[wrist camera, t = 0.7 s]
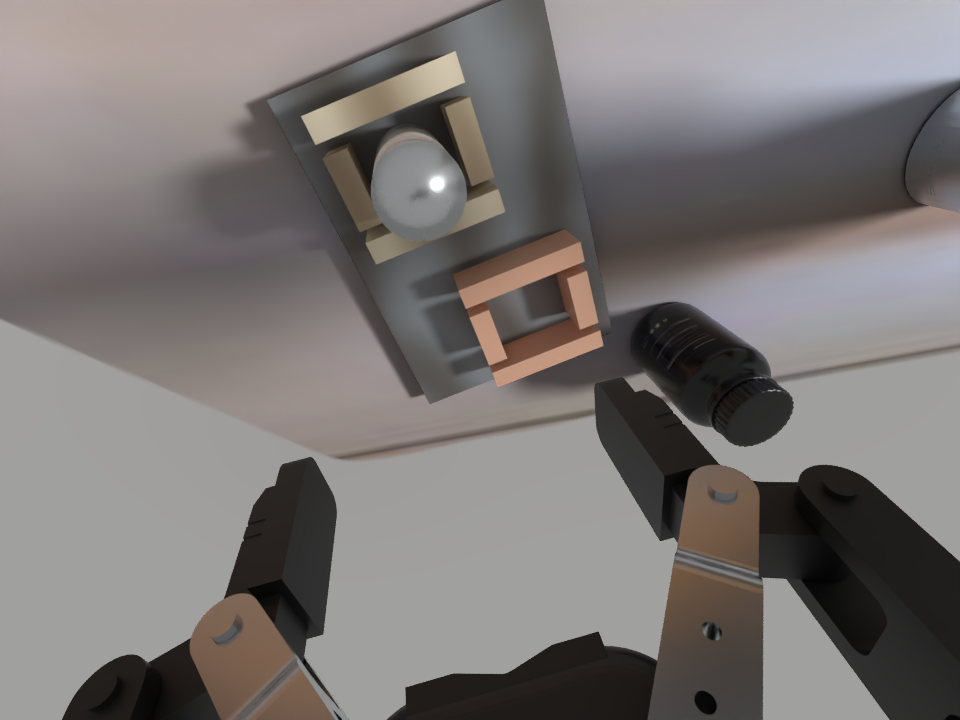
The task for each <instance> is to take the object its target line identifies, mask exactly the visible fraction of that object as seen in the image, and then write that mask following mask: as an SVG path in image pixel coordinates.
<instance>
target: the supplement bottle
mask: <svg viewBox="0 0 960 720" xmlns="http://www.w3.org/2000/svg"><path fill="white" fill-rule="evenodd" d="M631 350H632V355H633V358H634V360H635V361H636V363H637V364H638V365H639V367H640V368H641V369H642V370H643V371H644V372H645V373H646V375H647V376H648V377H649V378H650V379H651V380H652V381H653V382H654V383H655V384H656V385H657V387H658V388H659V389H660V390H661V391H662V392H663V393H664V394H665V395H666V396H667V398H668V399H669V400H670V401H671V402H672V403H673V404H674V405H675V406H676V407H677V409H678V410H679V411H680V412H681V413H682V414H683V415H684V416H685V417H686V418H688V420H690V421H691V422H693V423H695V424H698V425H701V426H705V427H713V428H714V429H715V430H716V431H717V432H719V433H720V434H722V435H723V436H724V437H725V438H726V439H727V440H728V441H729V442H730V443H732V444H734V445H738V446H744V447H746V446H753V445H756V444H759V443H761V442H764V441H766V440H767V439H770V438H771V437H772V436H774V435H776V434H777V433H778V432H779V431H780V430H781V429H782V428H783V426H784V425H786V423H787V421H788V420H789V419H790V416H791V414H792V410H793V401H792V397H791V396H790V394H789V393H788V392H787V391H786V390H784V389H783V388H782V387H780V386H779V385H778V384H777V383H776V382H775V381H774V380H773V379H772V378H771V371H770V367H769V364H768V362H767V360H766V358H765V357H764V356H763V355H762V354H761V353H760V352H759V351H758V350H756V349H755V348H754V347H752V346H751V345H749V344H748V343H746V342H745V341H744V340H742V339H741V338H739V337H738V336H736V335H735V334H734V333H732V332H731V331H729V330H728V329H726V328H725V327H724V326H722V325H721V324H719V323H718V322H716V321H715V320H714V319H712V318H711V317H709V316H708V315H706V314H705V313H703V312H702V311H700V310H699V309H697V308H696V307H694V306H692V305H689V304H685V303H671V304H667V305H664V306H661V307H659V308H657V309H655V310H654V311H652V312H651V313H649V314H648V315H647V316H646V317H645V318H644V319H643V320H642V321H641V322H640V324H639V325H638V327H637V328H636V330H635V333H634V335H633V338H632V344H631Z"/></svg>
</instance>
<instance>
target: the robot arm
mask: <svg viewBox="0 0 960 720" xmlns="http://www.w3.org/2000/svg"><path fill="white" fill-rule="evenodd" d="M905 181H906V188H907V190H908V192H909V194H910V196H911V197H912V198H913V199H914V200H915V201H916V202H919V203H921V204H924V205H928V206H933V207H937V208H941V209H946V210H950V211H955V212H959V213H960V89H958V90H957V91H956V92H955V93H953V94H952V95H951V96H950V97H949V98H947V99H946V100H945V101H944V102H943V103H942V105H941V106H940V107H939V108H938V109H937V110H936V111H935V112H934V113H933V115H932V116H931V117H930V118H929V120H928V121H927V122H926V124H925V125H924V127H923V128H922V130H921V132H920V133H919V135H918V137H917V138H916V140H915V142H914V145H913V147H912V149H911V152H910V154H909V158H908V161H907V165H906V173H905ZM594 393H595V412H596V427H597V431H598V435H599V438H600V441H601V443H602V445H603V447H604V448H605V450H606V452H607V453H608V455H609V457H610V458H611V460H612V462H613V463H614V465H615V467H616V468H617V470H618V472H619V473H620V475H621V477H622V478H623V480H624V482H625V483H626V485H627V487H628V488H629V490H630V492H631V493H632V495H633V497H634V498H635V500H636V502H637V503H638V505H639V507H640V508H641V510H642V512H643V513H644V515H645V517H646V518H647V520H648V522H649V523H650V525H651V527H652V528H653V530H654V532H655V533H656V535H657V537H658V538H659V540H660V541H663V540H666V539H670V538H673V537H674V538H675V539H676V541H677V542H678V546H677V551H676V553H675V557H674V563H673V569H672V575H671V582H670V587H669V593H668V600H667V605H666V611H665V618H664V623H663V629H662V635H661V641H660V647H659V653H658V660H655V659H653V658H651V657H649V656H647V655H645V654H642V653H640V652H637V651H633V650H630V649H627V648H621V647H614V646H604V644H603V642H602V639H601V637H600V634H599V632H595V633H592V634H589V635H585V636H581V637H578V638H575V639H571V640H568V641H564V642H561V643H557V644H554V645H551V646H550V647H548V648H547V649H545V650H543V651H542V652H540V653H539V654H537V655H536V656H534V657H532V658H531V659H529V660H528V661H526V662H525V663H523V664H521V665H520V666H518V667H517V668H515V669H514V670H512V671H510V672H508V673H506V674H451V675H447V676H444V677H440V678H437V679H433V680H430V681H426V682H423V683H419V684H416V685H413V686H409V687H406V705H405V706H403V707H401V708H400V709H399V710H397V711H396V712H395V713H394V714H393V715H392V716H390V717H389V718H388V719H387V720H763V580H762V578H761V577H763V578H784V579H787V580H788V582H789V583H790V585H791V586H792V587H793V589H794V590H795V591H796V593H797V594H798V595H799V597H800V598H801V599H802V601H803V602H804V604H805V605H806V606H807V608H808V609H809V610H810V612H811V613H812V615H813V616H814V617H815V619H816V620H817V621H818V622H819V624H820V625H821V627H822V628H823V630H824V631H825V632H826V634H827V635H828V636H829V638H830V639H831V640H832V642H833V643H834V644H835V646H836V647H837V649H838V650H839V651H840V653H841V654H842V655H843V657H844V658H845V659H846V661H847V662H848V664H849V665H850V666H851V668H852V669H853V670H854V672H855V673H856V674H857V676H858V677H859V679H860V680H861V681H862V683H863V684H864V685H865V687H866V688H867V689H868V691H869V692H870V694H871V695H872V696H873V698H874V699H875V700H876V702H877V703H878V704H879V706H880V707H881V708H882V710H883V711H884V713H885V714H886V715H887V717H888V718H889V719H890V720H960V562H959V561H958V560H957V559H956V558H955V557H954V556H953V555H952V554H951V553H949V552H948V551H947V550H946V549H945V548H944V547H943V546H941V545H940V544H939V543H938V542H937V541H936V540H935V539H934V538H933V537H931V536H930V535H929V534H928V533H927V532H926V531H925V530H924V529H923V528H921V527H920V526H919V525H918V524H917V523H916V522H915V521H914V520H912V519H911V518H910V517H909V516H908V515H907V514H906V513H905V512H904V511H902V510H901V509H900V508H899V507H898V506H897V505H896V504H895V503H893V502H892V501H891V500H890V499H889V498H888V497H887V496H886V495H885V494H883V493H882V492H881V491H880V490H879V489H878V488H877V487H876V486H874V485H873V484H872V483H871V482H870V481H869V480H867V479H866V478H864V477H863V476H861V475H859V474H857V473H855V472H853V471H851V470H848V469H845V468H842V467H838V466H832V465H817V466H812V467H809V468H807V469H806V470H804V471H803V472H802V474H801V475H800V477H799V480H798V482H757V481H752V480H751V479H750V478H749V477H748V476H746V475H745V474H744V473H742V472H740V471H738V470H736V469H734V468H731V467H727V466H722V465H720V464H718V462H717V461H716V460H715V459H714V458H713V457H712V456H711V454H710V453H709V452H708V451H707V450H706V449H705V448H704V446H703V445H702V444H701V443H700V442H699V441H698V440H697V438H696V437H695V436H694V435H693V434H692V433H691V432H690V430H689V429H688V428H687V427H686V426H685V425H683V424H682V421H681V420H680V419H679V418H678V417H677V416H676V415H675V414H673V411H672V410H671V409H670V408H669V406H668V405H667V404H666V403H665V402H664V401H663V400H662V399H661V398H659V397H657V396H656V395H654V394H652V393H650V392H648V391H646V390H642V391H639V392H635V391H634V390H633V389H632V388H631V386H630V385H629V384H628V383H627V382H626V380H625V379H624V378H622V377H619V378H616V379H612V380H608V381H604V382H600V383H596V384H595V387H594ZM336 517H337V509H336V503H335V499H334V496H333V493H332V491H331V490H330V488H329V486H328V484H327V482H326V480H325V478H324V477H323V475H322V473H321V471H320V469H319V467H318V465H317V464H316V462H315V460H314V459H313V458H311V457H308V458H305V459H301V460H297V461H293V462H289V463H285V464H283V465H282V466H281V467H280V470H279V473H278V477H277V481H276V485H275V486H273V487H269V488H266V489H265V490H264V492H263V493H262V495H261V496H260V497H259V499H258V500H257V501H256V503H255V504H254V506H253V509H252V512H251V515H250V518H249V521H248V527H247V528H246V531H245V534H244V537H243V538H244V541H243V542H242V544H241V547H240V550H239V553H238V556H237V560H236V563H235V566H234V569H233V572H232V575H231V579H230V582H229V585H228V588H227V591H226V595H225V597H224V599H223V600H222V601H220V602H218V603H217V604H216V605H214V606H213V607H212V608H211V609H210V610H209V611H208V612H207V613H206V614H205V615H204V616H203V617H202V619H201V620H200V621H199V623H198V624H197V626H196V628H195V629H194V632H193V634H192V637H191V638H190V639H188V640H187V641H185V642H184V643H182V644H180V645H178V646H177V647H175V648H173V649H171V650H170V651H168V652H166V653H164V654H163V655H161V656H159V657H158V658H156V659H154V660H152V661H151V662H149V663H148V662H146V661H145V660H144V659H142V658H141V657H140V656H138V655H125V656H121V657H119V658H116V659H114V660H112V661H110V662H109V663H107V664H106V665H104V666H103V667H101V668H100V669H99V670H97V671H96V672H95V673H94V674H93V675H92V676H91V677H90V678H89V679H88V680H87V681H86V682H85V683H84V684H83V685H82V686H81V687H80V689H79V690H78V691H77V693H76V694H75V696H74V697H73V699H72V701H71V702H70V704H69V706H68V708H67V710H66V712H65V714H64V716H63V719H62V720H349V718H348V717H347V716H346V714H345V713H344V711H343V710H342V709H341V707H340V706H339V704H338V703H337V701H336V700H335V699H334V697H333V696H332V694H331V693H330V691H329V690H328V689H327V687H326V686H325V684H324V683H323V682H322V680H321V679H320V677H319V676H318V674H317V673H316V672H315V670H314V669H313V667H312V666H311V664H310V663H309V662H308V660H307V659H306V658H305V656H304V653H305V646H306V639H309V638H312V637H316V636H319V635H323V631H324V623H325V614H326V605H327V596H328V587H329V579H330V570H331V561H332V552H333V543H334V534H335V526H336Z"/></svg>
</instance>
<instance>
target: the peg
mask: <svg viewBox="0 0 960 720" xmlns="http://www.w3.org/2000/svg"><path fill="white" fill-rule="evenodd" d="M371 198H372V203H373V207H374V209H375V211H376V214H377V215H378V217H379V219H380V220H381V222H382V223H383V224H384V225H385V226H386V227H387V228H388V229H389V230H390V231H391V232H393V233H394V234H396V235H397V236H399V237H402V238H404V239H407V240H411V241H419V242H422V241H430V240H434V239H437V238H439V237H441V236H443V235H445V234H446V233H448V232H449V231H450V230H451V229H452V228H453V227H454V226H455V225H456V224H457V222H458V221H459V220H460V218H461V216H462V214H463V211H464V208H465V204H466V198H467V189H466V182H465V179H464V176H463V173H462V171H461V169H460V167H459V165H458V164H457V163H456V161H455V160H454V159H453V158H452V156H451V155H450V154H449V153H448V152H447V151H446V150H445V149H444V147H443V146H442V145H441V144H440V143H439V142H438V141H437V139H436V138H435V137H434V136H433V135H432V134H431V133H430V132H429V131H428V130H426V129H425V128H423V127H421V126H419V125H416V124H410V123H404V124H399V125H396V126H394V127H392V128H390V129H389V130H388V131H387V132H386V133H385V134H384V135H383V136H382V138H381V139H380V141H379V144H378V146H377V150H376V157H375V163H374V169H373V175H372V182H371Z"/></svg>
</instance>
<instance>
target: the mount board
mask: <svg viewBox="0 0 960 720" xmlns="http://www.w3.org/2000/svg"><path fill="white" fill-rule="evenodd" d="M267 102H268V104H269V106H270V108H271V109H272V111H273V113H274V115H275V117H276V119H277V121H278V122H279V124H280V126H281V128H282V130H283V132H284V134H285V135H286V137H287V139H288V141H289V143H290V145H291V147H292V148H293V150H294V152H295V154H296V156H297V158H298V160H299V162H300V163H301V165H302V167H303V169H304V171H305V173H306V175H307V176H308V178H309V180H310V182H311V184H312V186H313V188H314V189H315V191H316V193H317V195H318V197H319V199H320V201H321V202H322V204H323V206H324V208H325V210H326V212H327V214H328V216H329V217H330V219H331V221H332V223H333V225H334V227H335V229H336V230H337V232H338V234H339V236H340V238H341V240H342V242H343V243H344V245H345V247H346V249H347V251H348V253H349V255H350V256H351V258H352V260H353V262H354V264H355V266H356V268H357V269H358V271H359V273H360V275H361V277H362V279H363V281H364V283H365V284H366V286H367V288H368V290H369V292H370V294H371V296H372V297H373V299H374V301H375V303H376V305H377V307H378V309H379V310H380V312H381V314H382V316H383V318H384V320H385V322H386V323H387V325H388V327H389V329H390V331H391V333H392V335H393V337H394V338H395V340H396V342H397V344H398V346H399V348H400V350H401V351H402V353H403V355H404V357H405V359H406V361H407V363H408V364H409V366H410V368H411V370H412V372H413V374H414V376H415V377H416V379H417V381H418V383H419V385H420V387H421V389H422V390H423V392H424V394H425V396H426V398H427V400H428V402H429V404H431V403H434V402H436V401H439V400H441V399H444V398H447V397H449V396H452V395H454V394H457V393H459V392H462V391H464V390H467V389H469V388H472V387H474V386H477V385H480V384H482V383H485V382H487V381H490V380H492V379H494V376H493V374H492V371H491V368H490V366H489V364H488V361H487V359H486V357H485V354H484V352H483V349H482V347H481V344H480V342H479V340H478V337H477V335H476V332H475V330H474V327H473V325H472V323H471V320H470V318H469V315H468V312H467V309H466V308H465V306H464V303H463V301H462V298H461V296H460V293H459V291H458V288H457V285H456V282H455V279H454V276H453V274H455V273H457V272H460V271H462V270H465V269H467V268H470V267H472V266H475V265H477V264H480V263H482V262H485V261H487V260H490V259H492V258H495V257H497V256H499V255H502V254H504V253H507V252H509V251H512V250H514V249H517V248H519V247H522V246H524V245H527V244H529V243H532V242H534V241H537V240H539V239H542V238H544V237H547V236H549V235H551V234H554V233H556V232H559V231H561V230H564V229H565V230H566V231H568V232H569V233H570V234H571V235H573V236H574V237H575V238H576V239H577V240H579V241H580V242H581V247H582V251H583V256H584V260H585V261H584V262H582V263H579V264H580V265H581V266H582V267H583V268H584V269H585V270H587V274H588V278H589V283H590V287H591V292H592V296H593V301H594V305H595V309H596V314H597V318H598V323H596V324H595V325H596V326H597V327H598V329H599V330H600V332H601V336H604V335H606V334H609V333H612V328H611V323H610V318H609V313H608V309H607V304H606V299H605V294H604V289H603V284H602V280H601V275H600V270H599V265H598V260H597V255H596V250H595V246H594V241H593V236H592V231H591V226H590V221H589V217H588V212H587V207H586V202H585V197H584V192H583V187H582V183H581V178H580V173H579V168H578V163H577V158H576V154H575V149H574V144H573V139H572V134H571V129H570V124H569V120H568V115H567V110H566V105H565V100H564V95H563V91H562V86H561V81H560V76H559V71H558V66H557V61H556V57H555V52H554V47H553V42H552V37H551V32H550V28H549V23H548V18H547V13H546V8H545V3H544V0H502V1H499V2H497V3H494V4H492V5H490V6H487V7H485V8H483V9H480V10H478V11H476V12H473V13H471V14H469V15H466V16H464V17H462V18H459V19H457V20H454V21H452V22H450V23H447V24H445V25H443V26H440V27H438V28H436V29H433V30H431V31H429V32H426V33H424V34H421V35H419V36H417V37H414V38H412V39H410V40H407V41H405V42H403V43H400V44H398V45H396V46H393V47H391V48H389V49H386V50H384V51H381V52H379V53H377V54H374V55H372V56H370V57H367V58H365V59H363V60H360V61H358V62H356V63H353V64H351V65H349V66H346V67H344V68H341V69H339V70H337V71H334V72H332V73H330V74H327V75H325V76H323V77H320V78H318V79H316V80H313V81H311V82H308V83H306V84H304V85H301V86H299V87H297V88H294V89H292V90H290V91H287V92H285V93H283V94H280V95H278V96H276V97H273V98H271V99H268V100H267ZM404 123H410V124H416V125H419V126H421V127H423V128H425V129H426V130H428V131H429V132H430V133H431V134H432V135H433V136H434V137H435V138H436V139H437V141H438V142H439V143H440V144H441V145H442V146H443V147H444V149H445V150H446V151H447V152H448V153H449V154H450V155H451V156H452V158H453V159H454V160H455V161H456V163H457V164H458V165H459V167H460V169H461V171H462V173H463V176H464V179H465V182H466V189H467V198H466V204H465V208H464V211H463V214H462V216H461V218H460V220H459V221H458V222H457V224H456V225H455V226H454V227H453V228H452V229H451V230H450V231H449V232H448V233H446V234H445V235H443V236H441V237H439V238H437V239H434V240H430V241H422V242H419V241H411V240H407V239H404V238H402V237H399V236H397V235H396V234H394V233H393V232H391V231H390V230H389V229H388V228H387V227H386V226H385V225H384V224H383V223H382V222H381V220H380V219H379V217H378V215H377V214H376V211H375V209H374V207H373V203H372V198H371V182H372V175H373V169H374V163H375V157H376V150H377V146H378V144H379V141H380V139H381V138H382V136H383V135H384V134H385V133H386V132H387V131H388V130H389V129H390V128H392V127H394V126H396V125H399V124H404ZM485 302H486V305H487V307H488V309H489V312H490V314H491V317H492V319H493V322H494V325H495V327H496V330H497V333H498V335H499V338H500V341H501V343H502V345H505V344H507V343H510V342H512V341H515V340H517V339H520V338H523V337H525V336H528V335H530V334H533V333H535V332H538V331H540V330H543V329H545V328H548V327H550V326H553V325H555V324H558V323H560V322H563V321H565V320H568V319H570V316H569V315H568V314H567V312H566V310H565V306H564V302H563V298H562V295H561V291H560V287H559V284H558V280H557V276H556V273H555V274H552V275H550V276H547V277H545V278H542V279H540V280H537V281H535V282H532V283H530V284H527V285H525V286H522V287H520V288H517V289H515V290H512V291H510V292H507V293H505V294H502V295H500V296H497V297H495V298H492V299H490V300H487V301H485Z"/></svg>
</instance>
